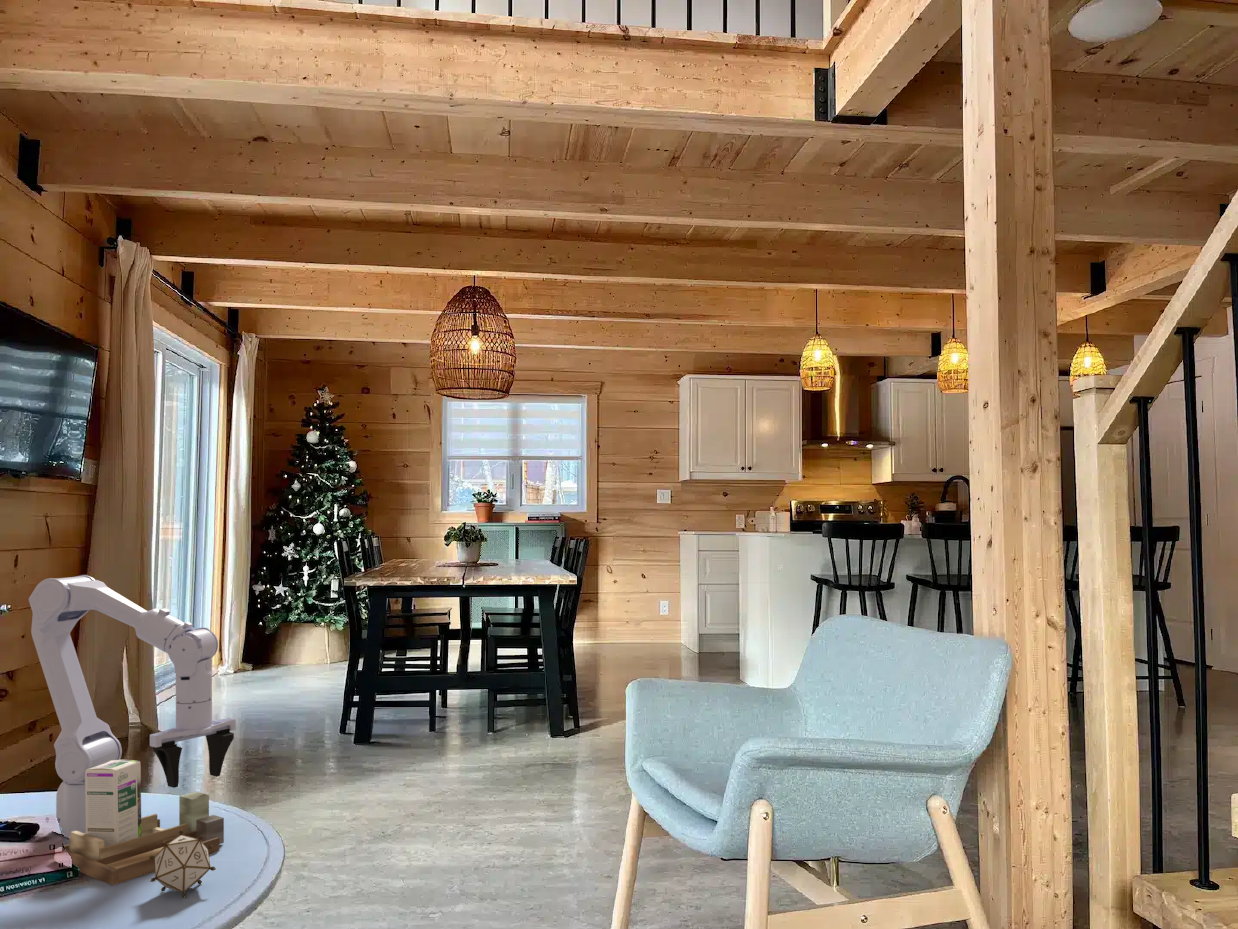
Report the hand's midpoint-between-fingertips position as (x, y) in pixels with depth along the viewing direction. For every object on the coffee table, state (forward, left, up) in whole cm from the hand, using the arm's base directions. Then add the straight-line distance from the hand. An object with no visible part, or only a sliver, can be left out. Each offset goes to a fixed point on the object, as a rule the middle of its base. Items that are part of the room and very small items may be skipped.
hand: (194, 781), depth 162 cm
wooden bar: (+9, -10, -8) cm, 15 cm away
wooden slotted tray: (0, -8, -8) cm, 12 cm away
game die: (+23, -16, -9) cm, 29 cm away
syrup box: (0, -14, -9) cm, 16 cm away
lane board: (+3, -11, -9) cm, 14 cm away
